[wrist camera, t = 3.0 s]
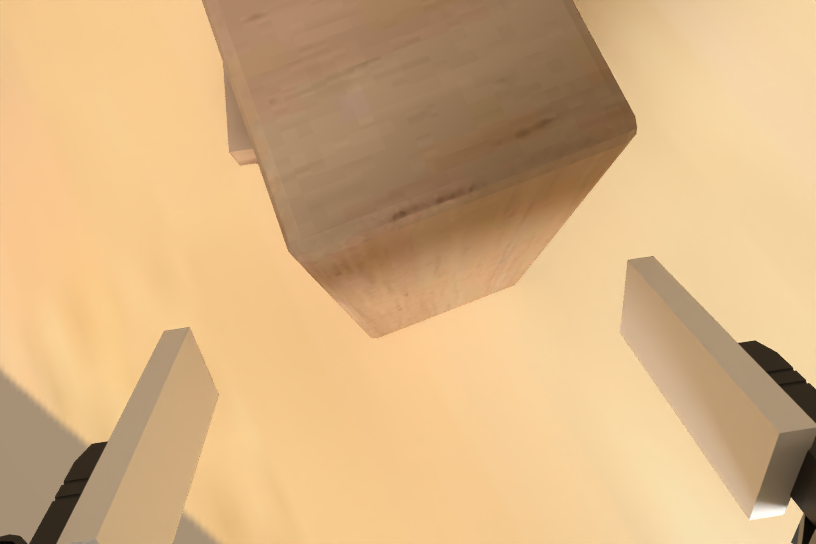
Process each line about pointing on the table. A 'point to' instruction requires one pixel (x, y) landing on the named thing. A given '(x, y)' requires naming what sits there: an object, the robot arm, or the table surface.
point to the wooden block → (420, 139)
